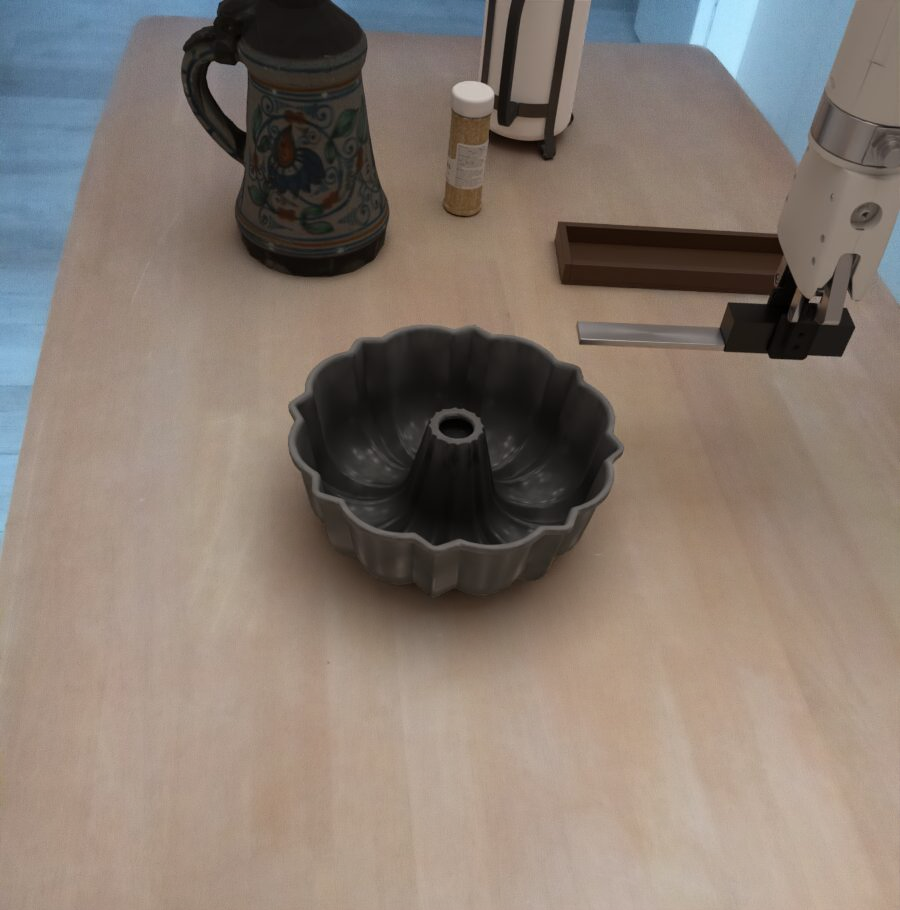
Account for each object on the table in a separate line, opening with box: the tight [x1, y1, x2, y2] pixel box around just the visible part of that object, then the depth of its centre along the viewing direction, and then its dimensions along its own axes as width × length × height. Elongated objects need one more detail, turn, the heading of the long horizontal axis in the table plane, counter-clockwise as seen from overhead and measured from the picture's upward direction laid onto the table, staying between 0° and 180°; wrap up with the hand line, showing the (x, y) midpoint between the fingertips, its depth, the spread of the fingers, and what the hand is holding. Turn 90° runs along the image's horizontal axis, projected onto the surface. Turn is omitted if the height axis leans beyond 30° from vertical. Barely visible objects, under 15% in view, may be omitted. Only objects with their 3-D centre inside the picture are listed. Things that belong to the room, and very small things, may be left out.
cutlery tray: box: [554, 220, 782, 295], centre depth 112 cm, size 28×8×2 cm, turn 92°
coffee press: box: [477, 0, 592, 160], centre depth 117 cm, size 17×16×30 cm
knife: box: [575, 301, 856, 358], centre depth 83 cm, size 22×3×3 cm, turn 92°
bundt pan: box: [287, 324, 625, 599], centre depth 84 cm, size 26×26×10 cm
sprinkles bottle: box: [442, 80, 494, 217], centre depth 112 cm, size 5×5×13 cm
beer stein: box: [180, 0, 390, 278], centre depth 101 cm, size 16×19×25 cm
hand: (781, 342), depth 84 cm, fingers closed on knife, 2 cm apart
